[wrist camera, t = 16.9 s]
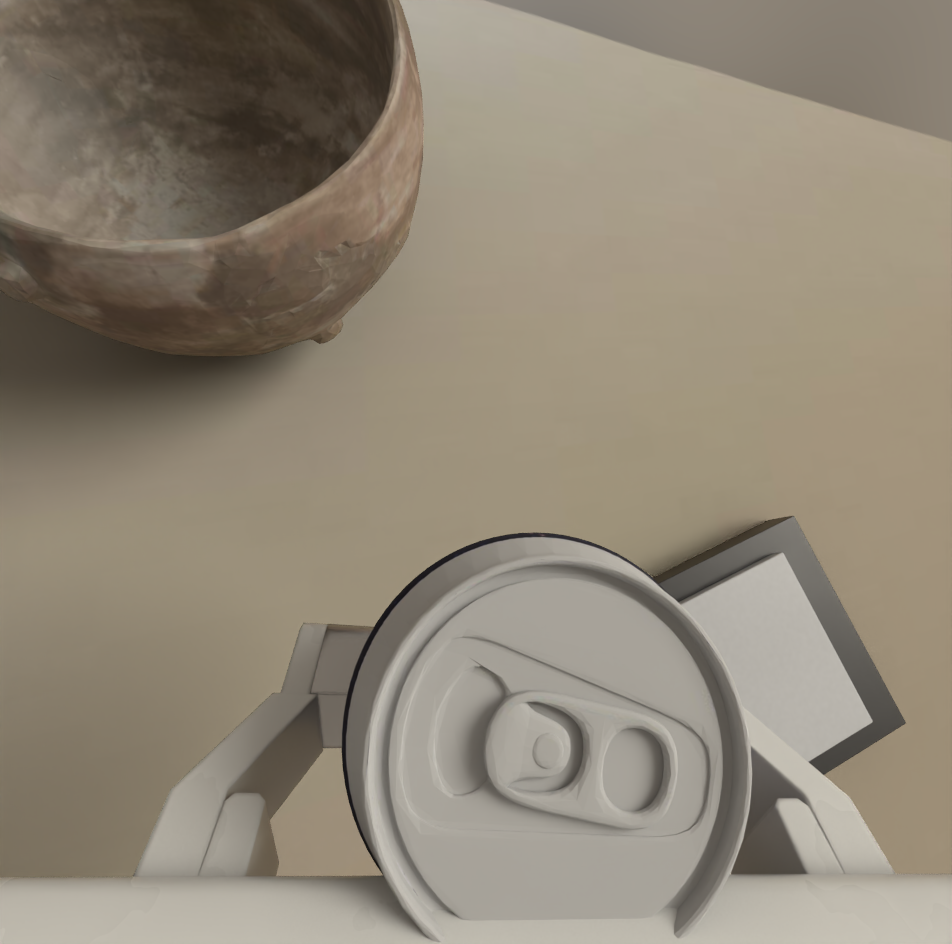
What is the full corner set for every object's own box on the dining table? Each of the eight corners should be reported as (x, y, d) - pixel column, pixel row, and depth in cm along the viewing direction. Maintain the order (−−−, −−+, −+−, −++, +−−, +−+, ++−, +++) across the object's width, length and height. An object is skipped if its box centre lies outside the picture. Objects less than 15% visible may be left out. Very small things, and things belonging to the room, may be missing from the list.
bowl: (355, 459, 34) (311, 368, 19) (-21, 345, 33) (-372, 155, 18) (459, 162, 39) (486, -84, 25) (141, 54, 38) (-28, -273, 24)
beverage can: (412, 542, 19) (399, 477, 7) (565, 580, 19) (804, 581, 7) (367, 710, 17) (257, 981, 6) (532, 748, 18) (757, 1082, 6)
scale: (697, 821, 32) (728, 847, 29) (596, 605, 34) (615, 608, 31) (873, 713, 34) (918, 726, 31) (769, 519, 36) (803, 513, 33)
